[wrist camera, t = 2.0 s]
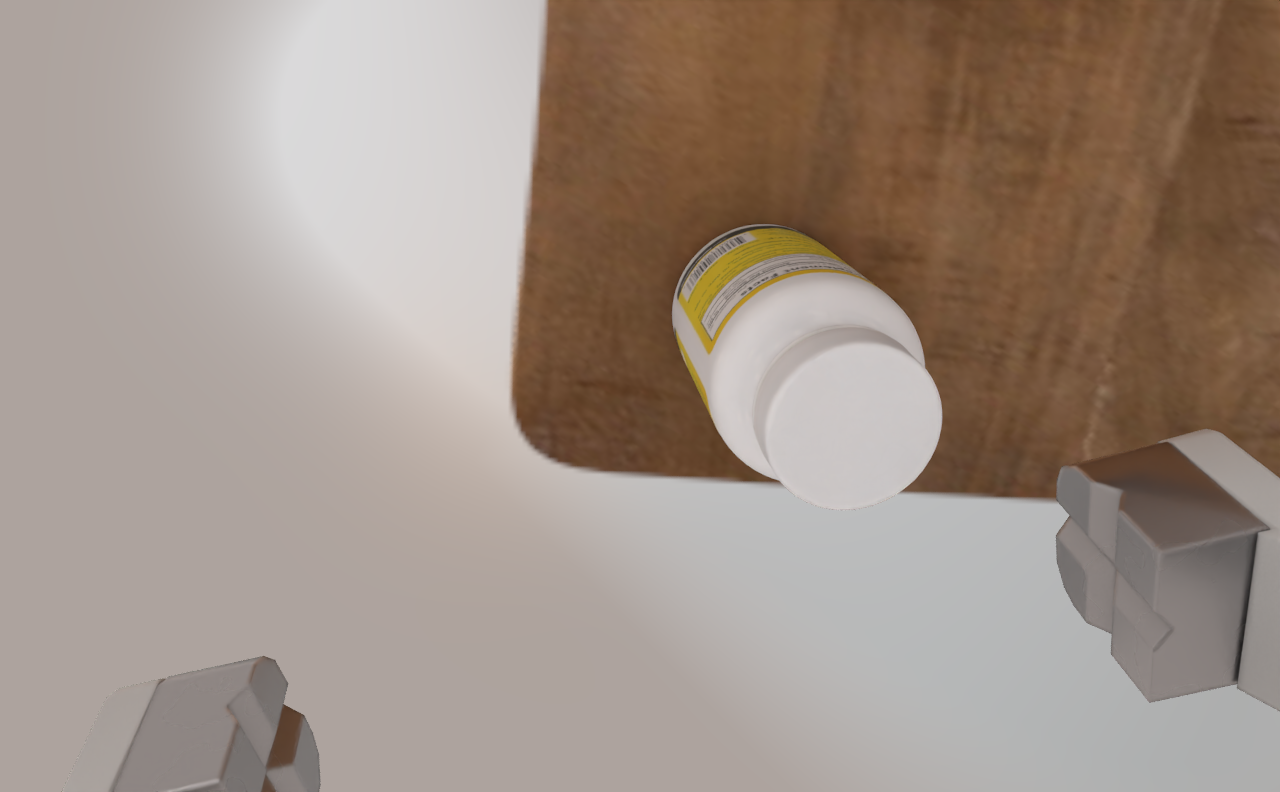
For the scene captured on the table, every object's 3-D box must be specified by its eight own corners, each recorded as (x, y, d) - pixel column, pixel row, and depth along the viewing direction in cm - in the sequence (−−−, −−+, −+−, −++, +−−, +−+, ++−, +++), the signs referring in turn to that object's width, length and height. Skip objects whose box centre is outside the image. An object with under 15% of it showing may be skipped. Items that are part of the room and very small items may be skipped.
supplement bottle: (826, 395, 32) (943, 548, 23) (659, 381, 31) (711, 535, 22) (858, 228, 30) (1000, 323, 21) (682, 210, 29) (750, 300, 20)
